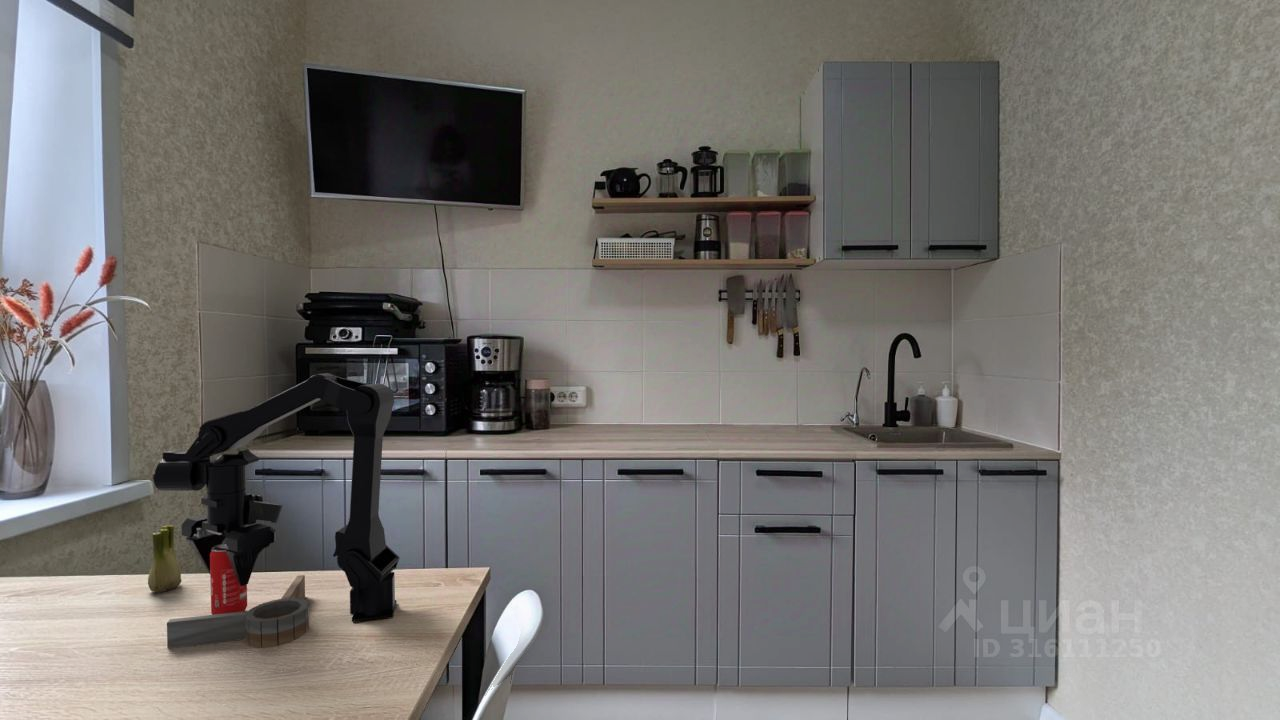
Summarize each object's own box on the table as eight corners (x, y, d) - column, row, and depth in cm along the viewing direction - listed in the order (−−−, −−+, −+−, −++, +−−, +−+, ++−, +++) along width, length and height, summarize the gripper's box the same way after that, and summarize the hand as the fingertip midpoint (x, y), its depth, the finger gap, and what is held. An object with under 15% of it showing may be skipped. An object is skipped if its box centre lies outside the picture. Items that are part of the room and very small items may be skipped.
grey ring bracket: (300, 642, 97) (300, 617, 97) (155, 660, 92) (155, 633, 92) (327, 594, 116) (326, 572, 115) (208, 606, 110) (207, 584, 110)
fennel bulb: (158, 597, 115) (156, 532, 114) (138, 594, 116) (137, 530, 115) (189, 585, 120) (187, 523, 120) (170, 582, 121) (168, 521, 121)
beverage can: (229, 623, 104) (228, 552, 103) (203, 620, 105) (202, 550, 105) (254, 609, 109) (253, 542, 109) (229, 607, 110) (228, 540, 110)
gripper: (305, 486, 109) (306, 574, 109) (245, 475, 118) (247, 556, 118) (238, 501, 99) (240, 597, 99) (178, 487, 108) (181, 576, 109)
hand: (229, 580), depth 107 cm, fingers open, 9 cm apart
